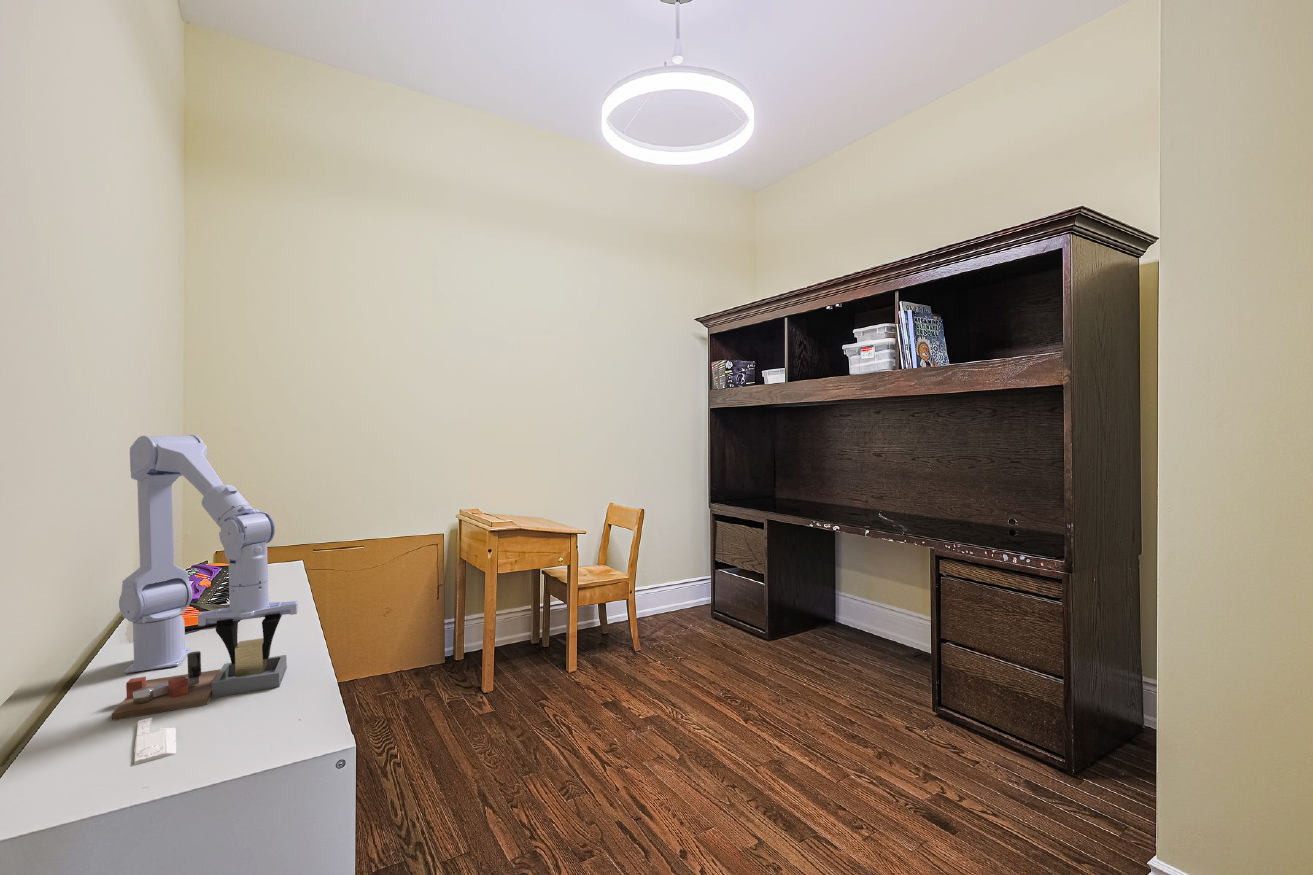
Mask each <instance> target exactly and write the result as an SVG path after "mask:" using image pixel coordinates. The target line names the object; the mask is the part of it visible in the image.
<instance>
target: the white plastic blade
mask: <svg viewBox="0 0 1313 875" xmlns="http://www.w3.org/2000/svg"><path fill="white" fill-rule="evenodd" d="M152 721H153V718H152V717H148V718H143V719H140V720H138V721H137V726H136V735H135V743H134V746H135V747H134V751H133V754H134V762H133V763H134V766H136V765H139V764H143V763H146V762H150V761H155V760H158V759H162V758H165V757H170V756H173V755H176V754H177V728H176V727H166V728H164V727H159V729H158V730H159V731H154V732H151V731H150V726H151V724H152Z"/></svg>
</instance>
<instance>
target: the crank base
mask: <svg viewBox="0 0 1313 875" xmlns="http://www.w3.org/2000/svg"><path fill="white" fill-rule="evenodd" d="M220 670H221V668H220V669H214V670H213V669H212V670H207V671H201V676H199V684H195V685H192V686H189V687H188V678H186V677H188V673H187V674H186V673H185V674H181V675H180V674H179V675H174V676H173V675H172V676H165V677H159V678H152V679H147V677H146V676H139V677H133V678H132V677H131V678H130V679H129V680H128V681H127V682H125V683H126V684H125V688H126V690H125V692H126V698H125V699H124V700H123V701H122V702H121V703H120V704H119V705H118V706H117V708H116V709H115V710H114V711H113V712H112V713H111V721H115V720H122V719H127V718H133V717H140V716H145V715H151V714H158V713H163V712H169V711H170V712H171V711H174V710H175V711H176V710H182V709H187V708H194V707H199V706H206V705H207V704H208V702H209V701H210V699H212V682H213V681H214V679H215V677H216V676H217V674H218V673H219V671H220ZM167 682H168V689H169V693H166V694H162V695H159V696H156V697H154V698H153V699H152V700H150V701H147V702H143V703H133V691H134V690H136V689H139V688H143V687H149V686H152V687H154V686H157V685H160V684H164V683H167Z"/></svg>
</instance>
